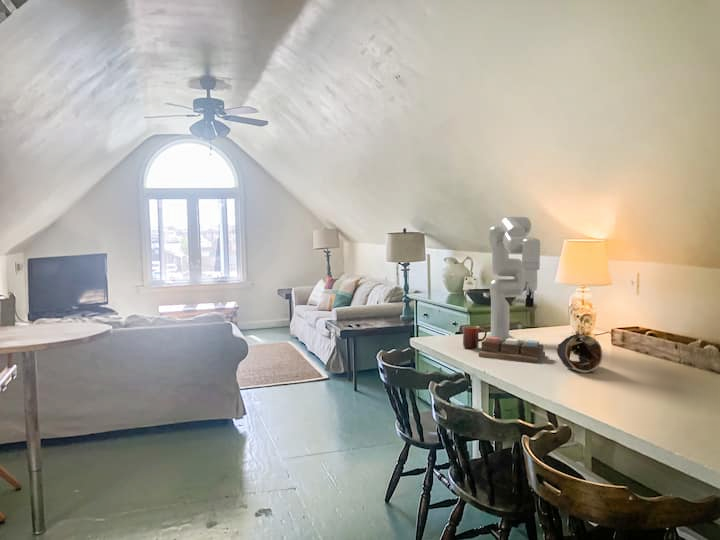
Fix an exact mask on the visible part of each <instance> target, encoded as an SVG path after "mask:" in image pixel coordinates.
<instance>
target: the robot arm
mask: <svg viewBox="0 0 720 540" xmlns="http://www.w3.org/2000/svg"><path fill="white" fill-rule="evenodd" d="M531 230H532V222H531V219H530V218H529V217H526V216H508V217H507V216H506V217H505V218H503V219H502V220H501V221H500V224H499V225H494V226H491V227H490V228H489V230H488V240H489V244H490V247H491V255H492V256H491V263H492V264H491V269H492V274H493V276H496V277H512V278H497V279H494V280H491V281H490V283H489V294H490V334H488V335H487V337H489V336H491V337H500V340H502V341H505V340H506V339H508V338H512V339H513V336H512V335H510V308H511V307H510V303H509V302H508V301H507V299H506V298H519V297H522V295H523V293H524V292H525V307H526V308H533V307H534V302H535V291H537V290H538V289H537V288H538V271H540V267H541V266H540V265H541V264H540V262H541V261H540V260H541V240H540V238H539V239H538V238H536V237H532V236H528V235H529V234H530V232H531ZM509 253H510V254H513V255H514V254H516V255H517V254H519V255H520V254H522V255H521V259H520V258H509V255H510V254H509Z"/></svg>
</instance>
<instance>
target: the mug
mask: <svg viewBox="0 0 720 540" xmlns="http://www.w3.org/2000/svg"><path fill="white" fill-rule="evenodd" d="M461 330H462V335H463V336H462V345H463V346H462V347H463V348H465V349H469V350H475V349H477V348H479V342H482V341H484V340H486V338H487V336H488V335H487V329H486V328H481V327H480V326H478V325H463V326H461ZM481 331H484V335H483V337H482V338H479V333H480V332H481Z"/></svg>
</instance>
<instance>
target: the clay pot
mask: <svg viewBox="0 0 720 540" xmlns="http://www.w3.org/2000/svg"><path fill="white" fill-rule="evenodd" d="M557 346H558V347H557V349H556V351H557V355H558V356H557V357H558V358H559V360H560V361H561V362H562V364H563V366H565V367H566V368H567V369H568V370H574V371H577V372H579V373H589V372H592V371H594V370H596V369H598V368H599V366H600V365H601V363H602V360H603V349H602V346H601V344H600V343H599V341H598V340H597V339H596V338H594V337H593V336H590V335H587V334H580V333H577V334H576V333H575V334H572V335H570V336H568V337H566V338H564V339H563V340H562V341H561V342H560V343H558V344H557ZM572 352H573V354H574V355H577V357H578V359H579V360H578V361H576V362H575V361H574V362H573V361H572V360H571V359H570V358H571V353H572ZM583 364H584V365H583ZM579 365H582V366H579Z"/></svg>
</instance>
